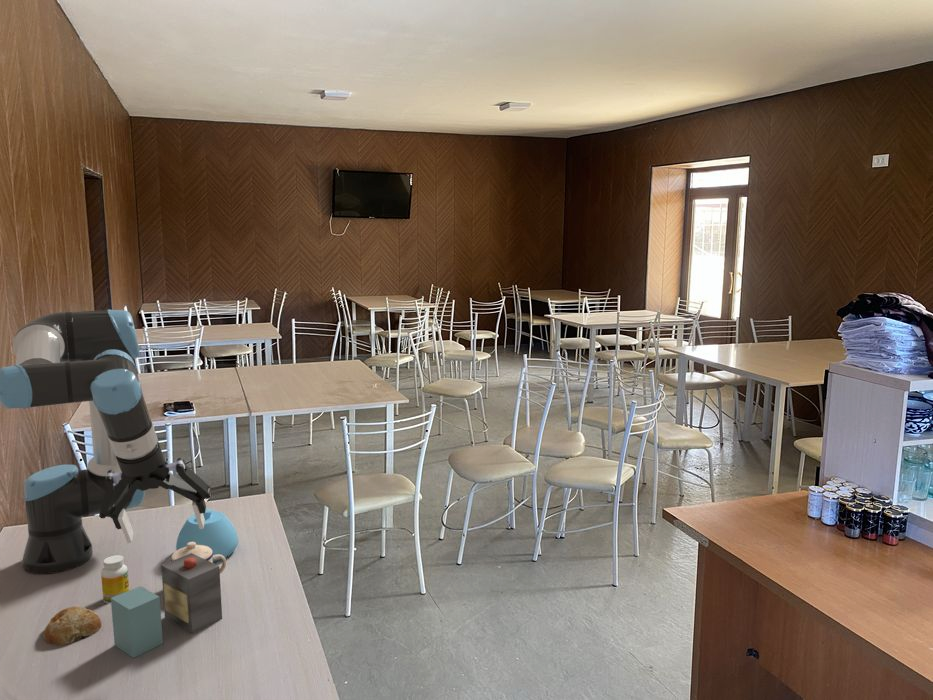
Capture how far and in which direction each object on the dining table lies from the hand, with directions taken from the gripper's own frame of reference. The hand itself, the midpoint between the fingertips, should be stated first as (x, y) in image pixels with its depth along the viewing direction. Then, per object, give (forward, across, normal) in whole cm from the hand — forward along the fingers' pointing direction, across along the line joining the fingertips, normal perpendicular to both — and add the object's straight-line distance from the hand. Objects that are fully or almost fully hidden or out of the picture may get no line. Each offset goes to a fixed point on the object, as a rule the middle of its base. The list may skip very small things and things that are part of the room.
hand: (166, 531), depth 140 cm
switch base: (+21, -5, -9) cm, 23 cm away
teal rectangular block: (+18, -8, -11) cm, 23 cm away
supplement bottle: (+26, -18, +10) cm, 33 cm away
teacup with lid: (+29, -1, +10) cm, 30 cm away
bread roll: (+20, -23, -4) cm, 31 cm away
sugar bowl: (+35, -2, +28) cm, 45 cm away
